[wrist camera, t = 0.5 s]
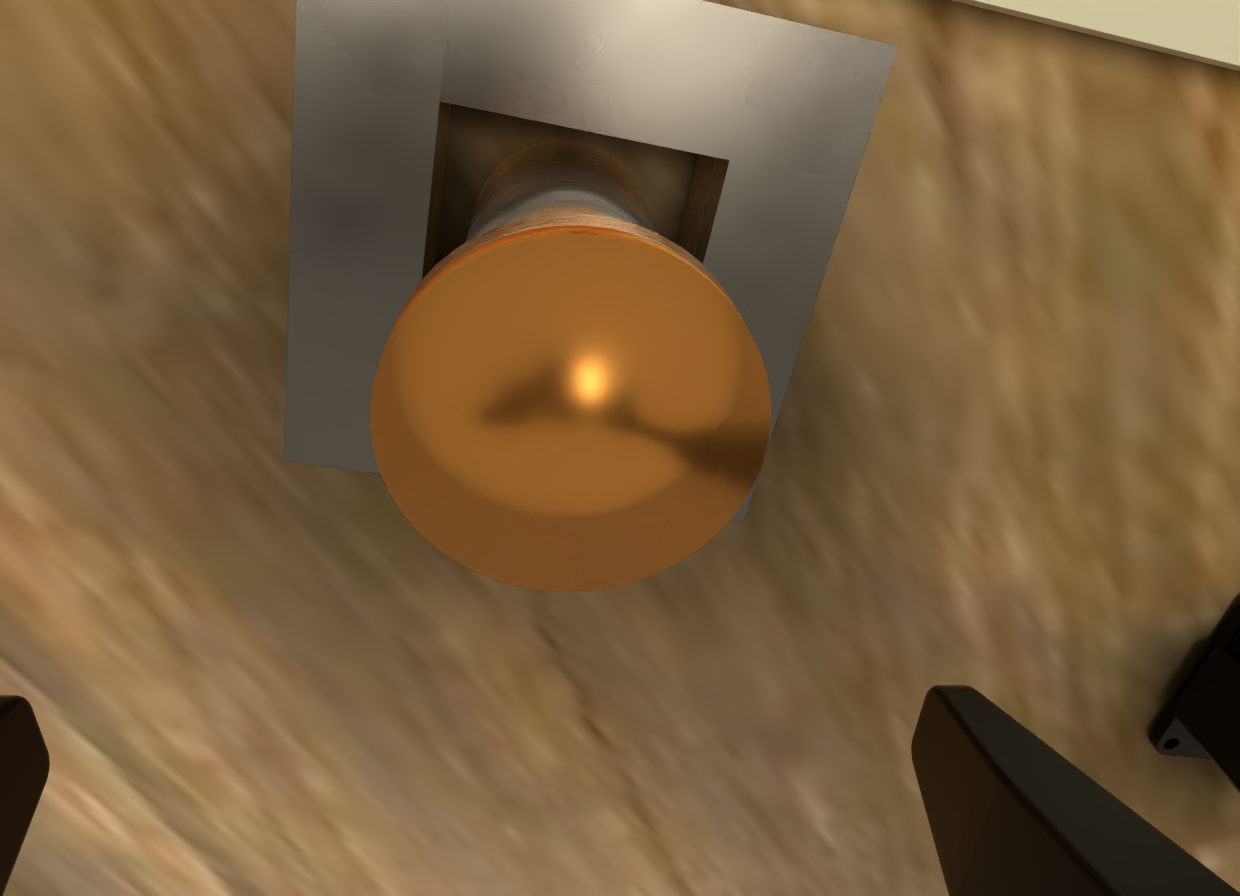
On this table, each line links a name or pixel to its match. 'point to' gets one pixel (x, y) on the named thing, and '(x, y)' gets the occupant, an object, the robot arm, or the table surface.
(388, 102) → the block
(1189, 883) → the robot arm
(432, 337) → the light grey cylindrical piece
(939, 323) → the table surface
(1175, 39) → the tray
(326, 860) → the table surface
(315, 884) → the table surface
